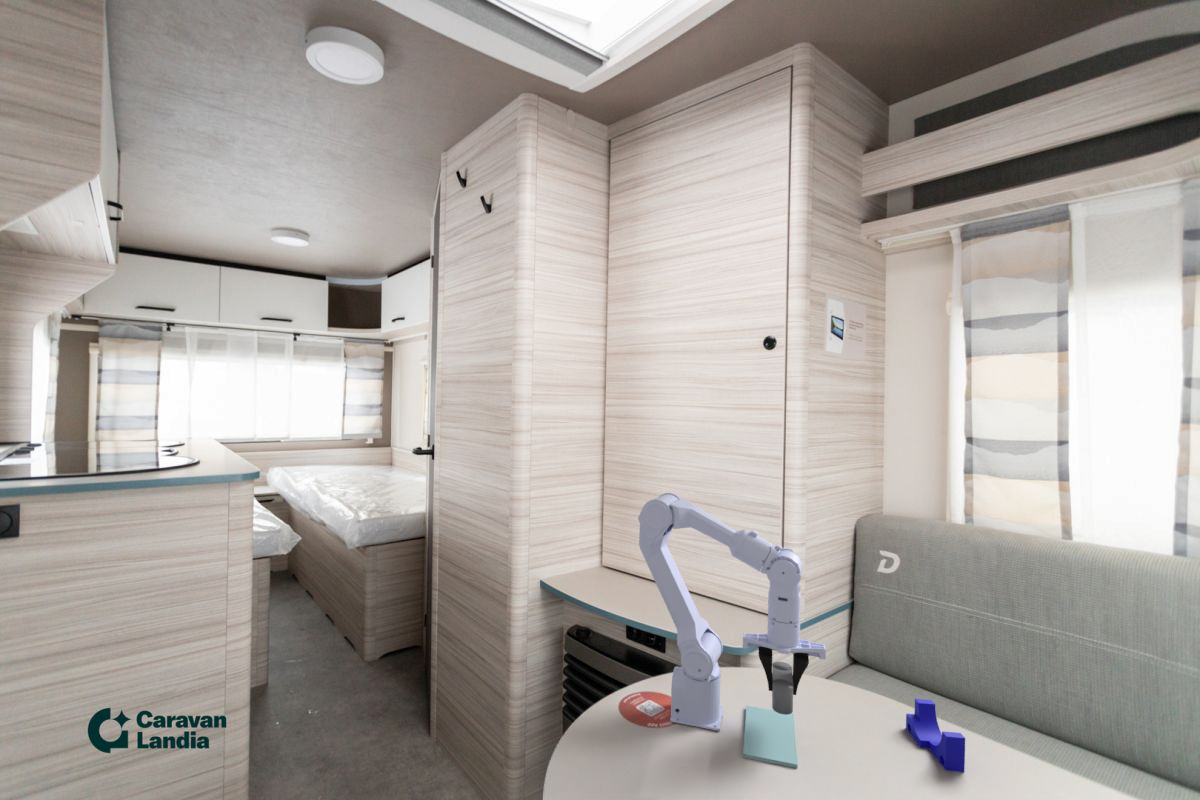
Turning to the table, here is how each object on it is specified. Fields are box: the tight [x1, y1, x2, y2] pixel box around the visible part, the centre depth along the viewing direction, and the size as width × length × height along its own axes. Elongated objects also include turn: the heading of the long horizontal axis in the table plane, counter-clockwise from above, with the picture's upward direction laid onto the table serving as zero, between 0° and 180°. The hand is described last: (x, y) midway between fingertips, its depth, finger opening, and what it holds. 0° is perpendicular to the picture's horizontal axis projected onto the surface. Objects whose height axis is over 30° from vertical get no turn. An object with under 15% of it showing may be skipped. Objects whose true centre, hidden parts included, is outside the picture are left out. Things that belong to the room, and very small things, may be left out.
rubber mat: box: [742, 705, 799, 769], centre depth 103 cm, size 9×16×1 cm, turn 163°
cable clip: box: [905, 698, 966, 773], centre depth 101 cm, size 12×4×6 cm, turn 173°
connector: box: [771, 661, 794, 715], centre depth 104 cm, size 4×12×4 cm, turn 163°
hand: (782, 690), depth 103 cm, fingers closed on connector, 3 cm apart
